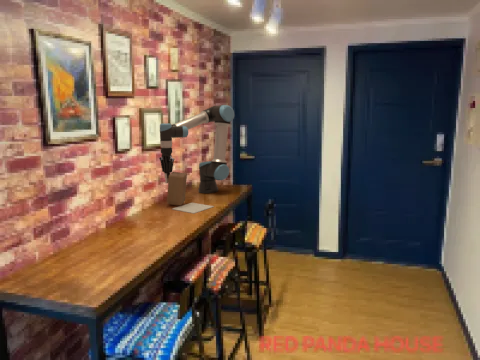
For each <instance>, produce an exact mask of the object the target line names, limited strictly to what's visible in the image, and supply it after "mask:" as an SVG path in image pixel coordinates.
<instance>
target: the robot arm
mask: <svg viewBox="0 0 480 360" xmlns="http://www.w3.org/2000/svg"><path fill="white" fill-rule="evenodd" d="M234 118H235V110H234V109H233V108H232V106H230V105H227V104H221V105H213V106H210V107H208V108H206V109H204V110H201V111H200V113H197V114H195V115H193V116H190V117H188V118H185V119H183V120H180V121H177V122H176V123H173V124H172V123H164V122H163V123H160V124H159V138H160V154H161V157H158V158H159V162H160V166H161V170H162V171H161V172H163V173H164V179H165V184H168V179H169V175H170V174H171V173H172V172H173V169H174V163H175V158H173V156H172V154H173V139H174V138H175V139H179V138H180V139H182V138H183V139H184V138H187V137H188V135H189V130H191V129H194V128H196V127H198V126H200V125H202V124H209V123H212V122H214V123H213V124H214V125H215V127H216V128H215V135H214V136H215V137H214V149H213V158H212V159H211V160H209V161H202V162H201V161H200V163H199V165H198V169H199V185H198V193H200V194H213V193H217V192H219V186H218V184H217V181H225V180H226V179H227V178H228V177H229V174H230V167H229V166H228V161H227V160H226V156H227V154H226V153H227V144H228V143H227V142H228V131H229V127H230V126H231V124H232V123H231V122H232V121H233V120H234Z"/></svg>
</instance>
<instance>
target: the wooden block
mask: <svg viewBox="0 0 480 360" xmlns="http://www.w3.org/2000/svg"><path fill="white" fill-rule="evenodd" d="M187 178H188V174H187V173H185V172H179V171H172V172H171V173H170V175H169V179H168V183H167V196H166V205H172V206H173V205H174V206H178V207H179V206H183V205H184V203H185V201H186V190H187Z"/></svg>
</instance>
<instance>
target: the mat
mask: <svg viewBox="0 0 480 360" xmlns="http://www.w3.org/2000/svg"><path fill="white" fill-rule="evenodd" d="M214 207H215V206H214V205H209V204H203V203H196V202H190V203H187V204H186V203H185V204H182V205H181V206H179V205H178V206H176V207H173V208H171V211H172V210H173V211H178V212H183V213H188V214H193V215H194V214H197V213H200V212H202V211H206V210H209V209H212V208H214Z"/></svg>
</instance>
